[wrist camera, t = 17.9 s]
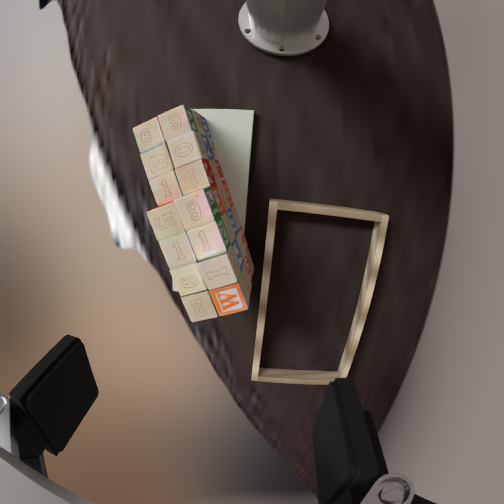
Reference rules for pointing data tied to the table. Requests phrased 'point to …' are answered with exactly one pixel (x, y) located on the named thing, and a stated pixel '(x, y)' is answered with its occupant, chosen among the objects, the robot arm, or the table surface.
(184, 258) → the stack of blocks
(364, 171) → the table surface
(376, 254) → the beige open rectangular frame
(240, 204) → the sage mat
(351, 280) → the table surface
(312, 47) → the robot arm
